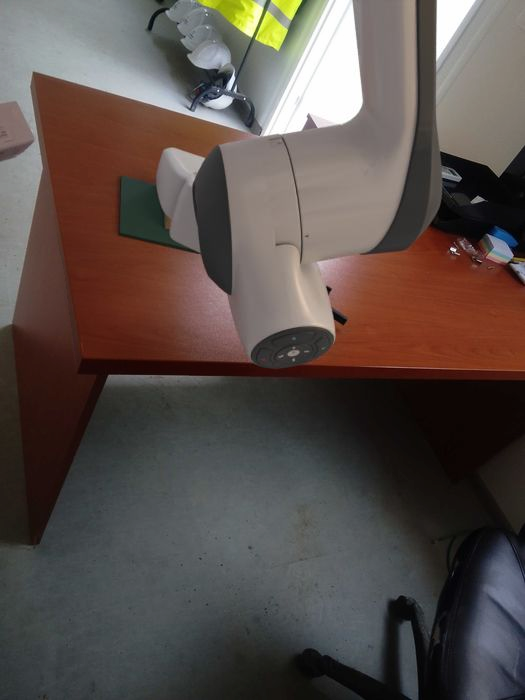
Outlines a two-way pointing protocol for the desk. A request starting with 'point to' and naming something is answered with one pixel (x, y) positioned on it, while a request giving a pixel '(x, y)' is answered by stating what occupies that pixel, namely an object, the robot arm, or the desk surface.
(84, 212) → the desk surface
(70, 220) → the desk surface
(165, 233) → the mat
